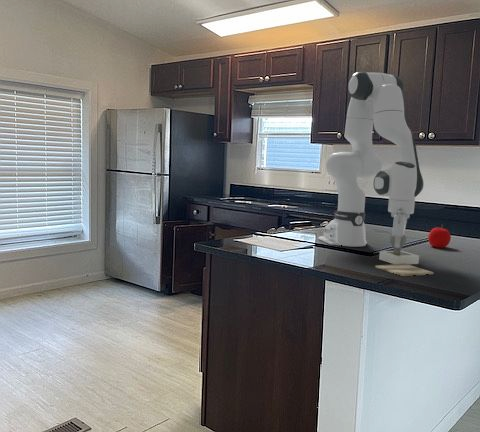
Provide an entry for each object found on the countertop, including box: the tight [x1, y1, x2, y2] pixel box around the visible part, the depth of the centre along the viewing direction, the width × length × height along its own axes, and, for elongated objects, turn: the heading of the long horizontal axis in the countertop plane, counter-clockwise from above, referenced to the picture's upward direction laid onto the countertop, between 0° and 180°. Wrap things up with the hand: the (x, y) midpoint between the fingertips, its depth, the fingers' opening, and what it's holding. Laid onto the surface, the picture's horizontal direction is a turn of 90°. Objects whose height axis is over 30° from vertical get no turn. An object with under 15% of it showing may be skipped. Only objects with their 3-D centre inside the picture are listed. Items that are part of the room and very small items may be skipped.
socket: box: [378, 250, 420, 265], centre depth 173 cm, size 10×10×3 cm
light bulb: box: [389, 234, 407, 256], centre depth 173 cm, size 5×6×10 cm
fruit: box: [427, 224, 452, 249], centre depth 207 cm, size 9×9×10 cm
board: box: [374, 263, 435, 277], centre depth 159 cm, size 13×13×1 cm
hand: (397, 245), depth 173 cm, fingers closed on light bulb, 5 cm apart
